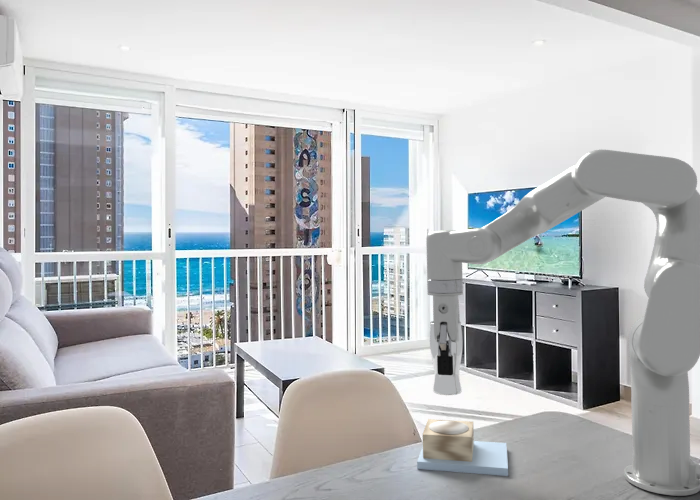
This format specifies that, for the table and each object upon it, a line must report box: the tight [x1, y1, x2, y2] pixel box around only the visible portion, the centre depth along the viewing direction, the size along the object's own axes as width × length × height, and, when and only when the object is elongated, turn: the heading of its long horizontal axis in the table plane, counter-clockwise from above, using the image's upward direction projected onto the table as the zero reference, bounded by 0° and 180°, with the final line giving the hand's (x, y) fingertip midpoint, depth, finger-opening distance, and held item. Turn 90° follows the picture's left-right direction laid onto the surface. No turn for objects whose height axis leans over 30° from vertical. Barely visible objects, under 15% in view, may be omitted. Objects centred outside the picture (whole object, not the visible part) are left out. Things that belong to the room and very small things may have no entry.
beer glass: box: [429, 320, 464, 396], centre depth 116 cm, size 7×7×15 cm
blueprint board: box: [416, 440, 509, 477], centre depth 116 cm, size 18×14×2 cm
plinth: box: [422, 418, 475, 462], centre depth 117 cm, size 10×10×5 cm
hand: (446, 370), depth 116 cm, fingers closed on beer glass, 6 cm apart
